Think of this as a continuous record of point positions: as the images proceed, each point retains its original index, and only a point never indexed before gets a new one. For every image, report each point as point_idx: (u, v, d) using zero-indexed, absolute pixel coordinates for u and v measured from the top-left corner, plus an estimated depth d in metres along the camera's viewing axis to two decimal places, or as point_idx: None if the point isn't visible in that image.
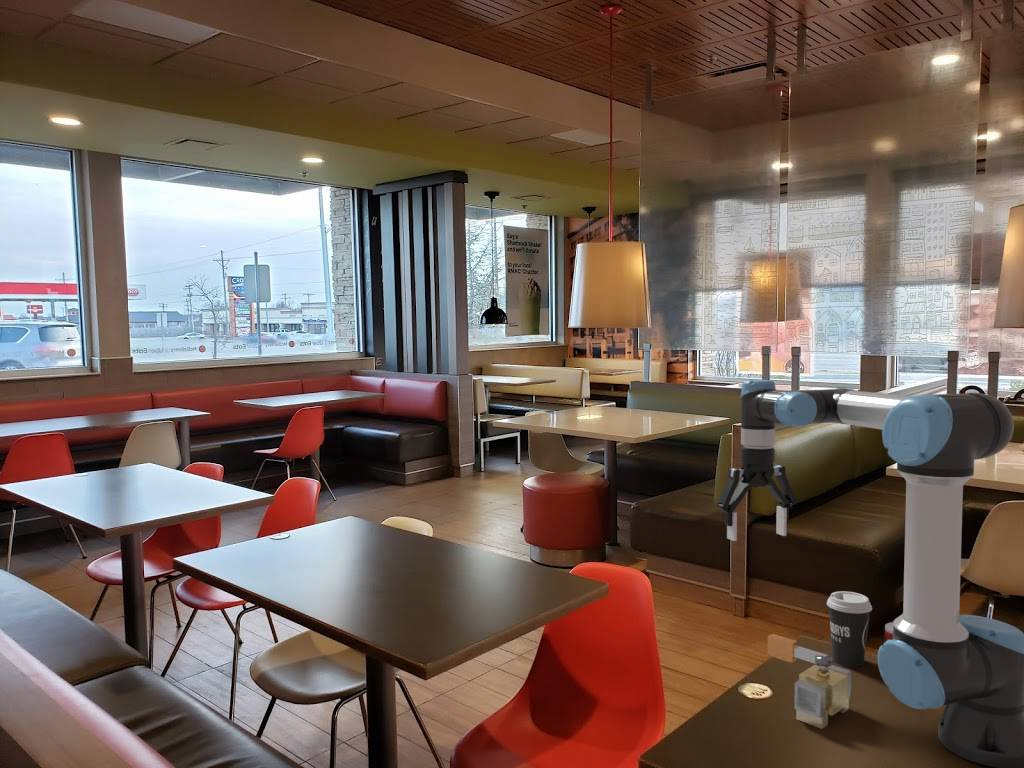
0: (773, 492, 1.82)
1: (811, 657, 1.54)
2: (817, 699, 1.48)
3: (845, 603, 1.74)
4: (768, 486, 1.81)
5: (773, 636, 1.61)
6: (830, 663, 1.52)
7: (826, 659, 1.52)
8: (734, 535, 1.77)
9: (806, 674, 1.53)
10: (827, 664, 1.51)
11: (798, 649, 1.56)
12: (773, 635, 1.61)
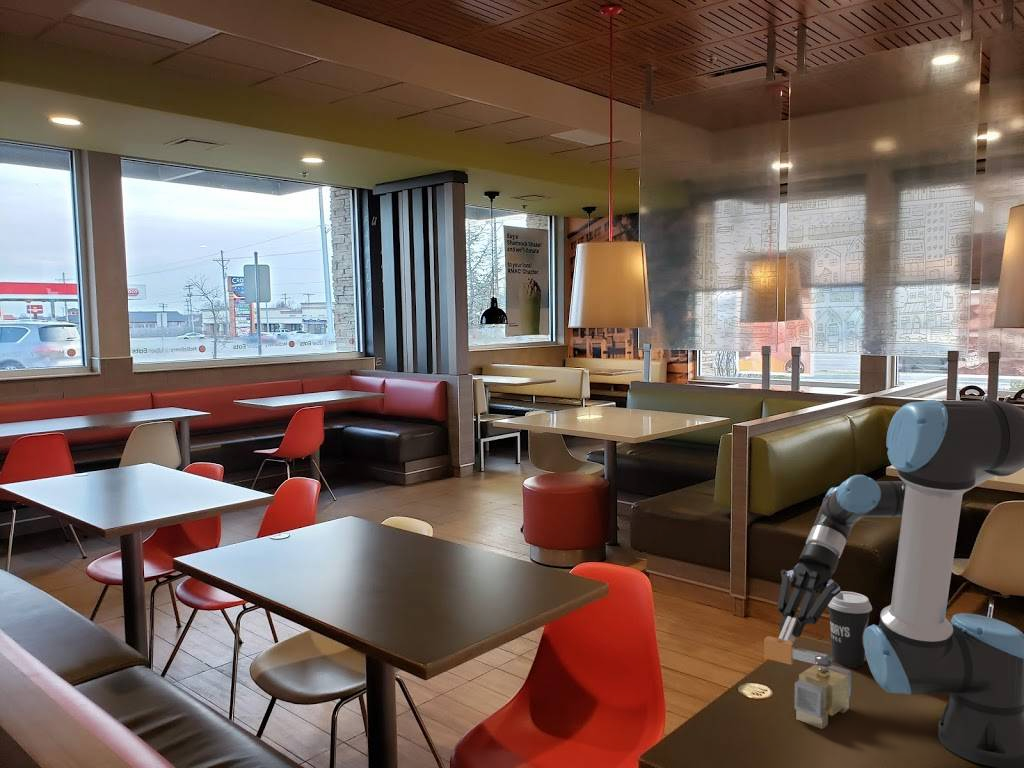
0: None
1: (810, 657, 1.54)
2: (817, 699, 1.48)
3: (845, 603, 1.74)
4: None
5: (770, 638, 1.59)
6: (831, 663, 1.52)
7: (827, 659, 1.52)
8: None
9: (806, 674, 1.53)
10: (828, 664, 1.52)
11: (797, 650, 1.56)
12: (769, 637, 1.60)
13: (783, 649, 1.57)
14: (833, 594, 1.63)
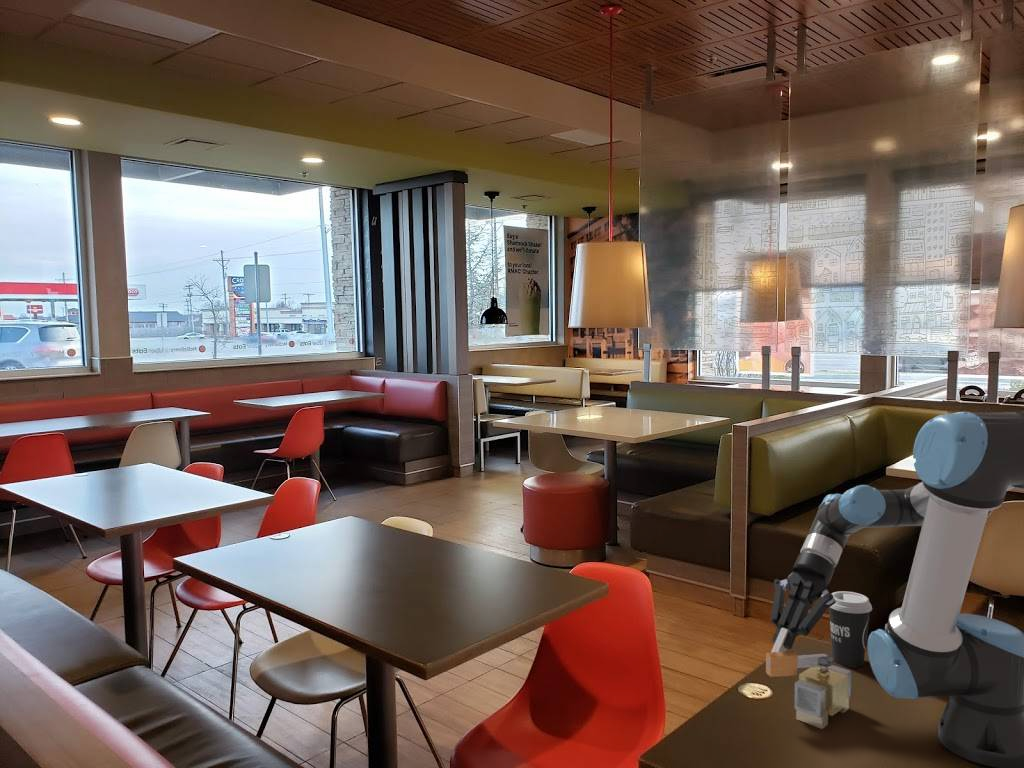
0: None
1: (814, 661, 1.52)
2: (817, 699, 1.48)
3: (845, 603, 1.74)
4: None
5: (772, 654, 1.51)
6: None
7: (831, 658, 1.52)
8: None
9: (806, 674, 1.53)
10: None
11: (801, 658, 1.52)
12: (771, 654, 1.52)
13: (789, 661, 1.51)
14: (827, 605, 1.56)
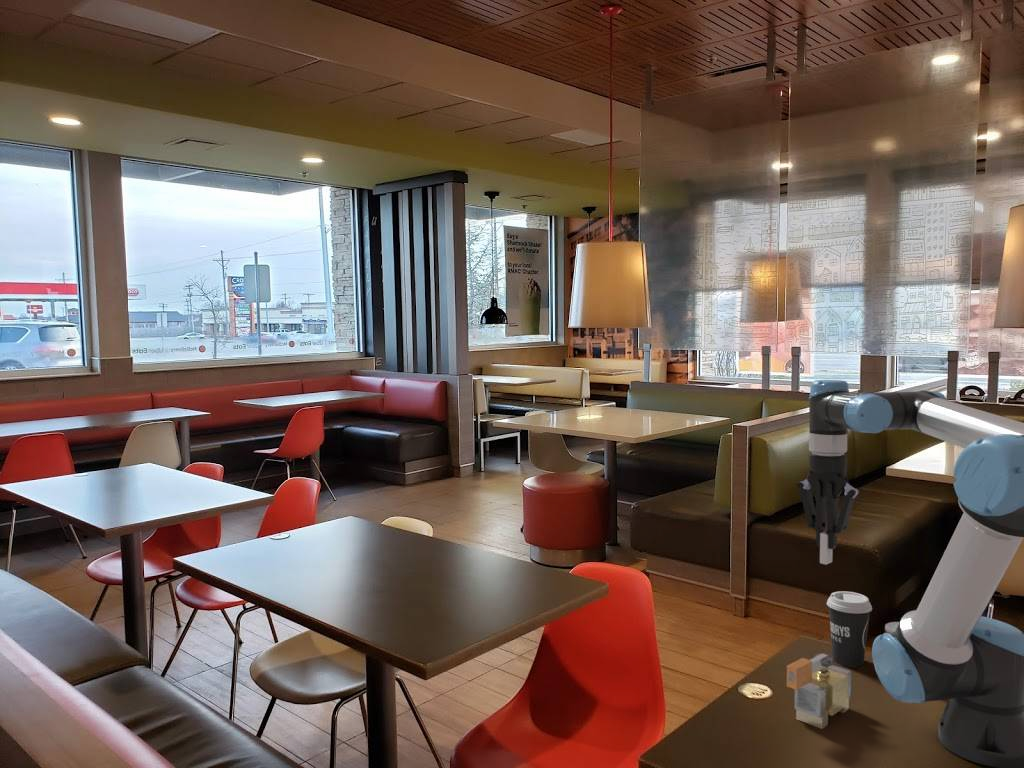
0: None
1: (820, 663, 1.51)
2: (817, 699, 1.48)
3: (845, 603, 1.74)
4: None
5: (794, 666, 1.46)
6: None
7: (830, 657, 1.53)
8: (820, 557, 1.65)
9: None
10: None
11: (812, 663, 1.49)
12: (792, 666, 1.46)
13: (807, 669, 1.47)
14: (853, 498, 1.61)
